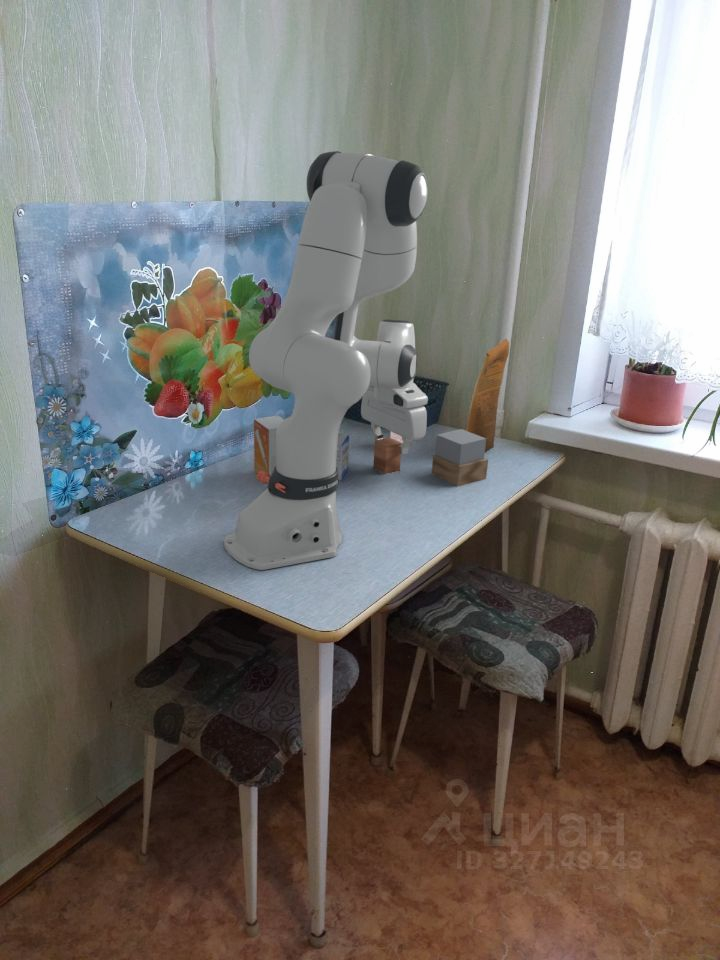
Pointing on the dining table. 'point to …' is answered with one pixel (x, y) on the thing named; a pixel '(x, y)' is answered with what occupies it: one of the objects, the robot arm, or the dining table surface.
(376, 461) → the cherry block
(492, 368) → the pancake mix bag
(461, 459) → the tower top
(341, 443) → the medicine box
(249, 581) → the dining table surface
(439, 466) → the tower base
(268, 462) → the small box
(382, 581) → the dining table surface
